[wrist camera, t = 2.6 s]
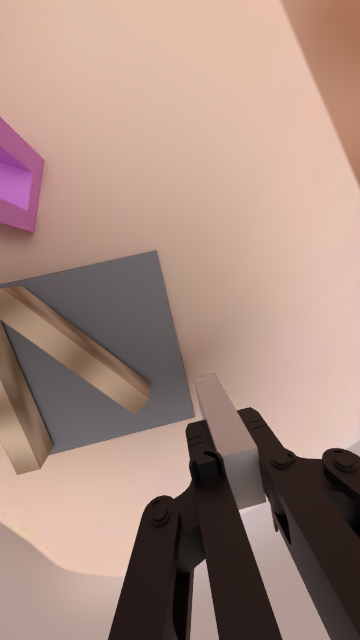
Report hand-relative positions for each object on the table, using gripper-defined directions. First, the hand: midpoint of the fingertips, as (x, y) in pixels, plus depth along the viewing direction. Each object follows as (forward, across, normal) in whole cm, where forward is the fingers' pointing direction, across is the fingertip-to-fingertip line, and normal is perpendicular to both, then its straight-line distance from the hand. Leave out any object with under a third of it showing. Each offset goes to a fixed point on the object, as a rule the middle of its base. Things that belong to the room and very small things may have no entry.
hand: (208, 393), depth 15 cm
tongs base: (+7, -16, +2) cm, 17 cm away
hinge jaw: (+6, -9, +4) cm, 12 cm away
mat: (+7, -9, +2) cm, 12 cm away
